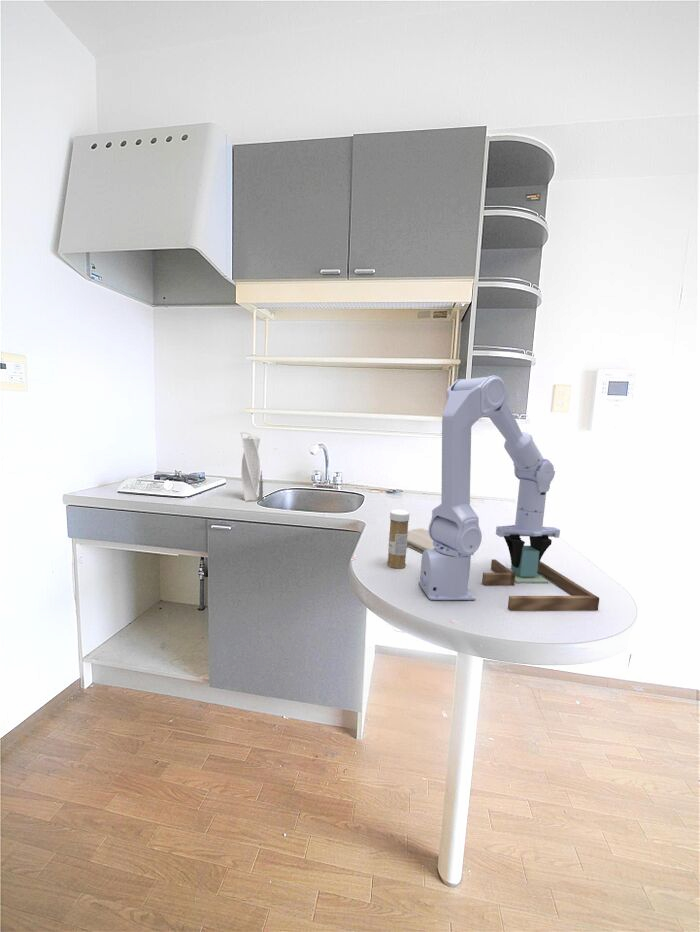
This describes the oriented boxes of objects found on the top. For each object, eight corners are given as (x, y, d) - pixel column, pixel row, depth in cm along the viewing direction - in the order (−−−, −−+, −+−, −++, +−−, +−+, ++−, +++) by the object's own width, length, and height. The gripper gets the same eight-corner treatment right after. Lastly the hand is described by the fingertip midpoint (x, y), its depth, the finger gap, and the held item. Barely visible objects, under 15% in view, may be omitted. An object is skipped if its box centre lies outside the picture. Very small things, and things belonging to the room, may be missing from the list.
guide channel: (510, 610, 71) (511, 598, 71) (467, 569, 91) (468, 559, 91) (597, 610, 73) (599, 598, 73) (536, 569, 93) (538, 559, 93)
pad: (516, 583, 84) (516, 581, 84) (499, 569, 92) (499, 568, 92) (548, 583, 85) (548, 581, 85) (529, 569, 93) (529, 568, 93)
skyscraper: (242, 502, 150) (243, 432, 146) (237, 498, 157) (238, 431, 153) (263, 501, 154) (265, 433, 151) (257, 497, 161) (258, 432, 158)
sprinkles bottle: (385, 562, 93) (388, 508, 92) (403, 562, 94) (406, 509, 92) (389, 569, 89) (392, 513, 87) (408, 569, 89) (411, 514, 88)
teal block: (520, 576, 86) (522, 551, 85) (511, 569, 90) (513, 545, 89) (536, 576, 87) (539, 551, 86) (526, 569, 90) (529, 545, 90)
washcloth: (431, 560, 97) (432, 548, 97) (388, 540, 112) (389, 530, 112) (463, 553, 104) (463, 542, 103) (418, 535, 119) (418, 525, 118)
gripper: (509, 513, 82) (503, 572, 83) (571, 514, 83) (564, 573, 85) (493, 505, 89) (488, 561, 90) (551, 507, 90) (545, 561, 92)
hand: (524, 566), depth 88 cm, fingers closed on teal block, 4 cm apart
